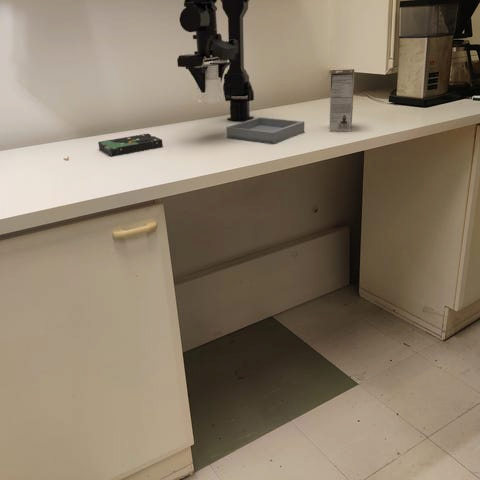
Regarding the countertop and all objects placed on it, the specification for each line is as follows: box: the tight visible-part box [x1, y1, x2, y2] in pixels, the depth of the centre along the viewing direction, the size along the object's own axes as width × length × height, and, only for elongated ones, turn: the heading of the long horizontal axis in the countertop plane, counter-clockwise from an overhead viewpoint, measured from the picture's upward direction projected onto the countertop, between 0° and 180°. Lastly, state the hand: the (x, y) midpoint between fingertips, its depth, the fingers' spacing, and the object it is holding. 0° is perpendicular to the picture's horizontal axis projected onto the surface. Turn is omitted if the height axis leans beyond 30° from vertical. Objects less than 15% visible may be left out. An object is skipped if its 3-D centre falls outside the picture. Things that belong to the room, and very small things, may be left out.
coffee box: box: [329, 68, 355, 132], centre depth 139 cm, size 9×6×16 cm
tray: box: [226, 116, 305, 145], centre depth 138 cm, size 16×16×3 cm
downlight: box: [196, 63, 225, 105], centre depth 134 cm, size 8×7×10 cm
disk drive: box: [97, 133, 164, 158], centre depth 131 cm, size 10×3×15 cm
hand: (210, 90), depth 135 cm, fingers closed on downlight, 6 cm apart
